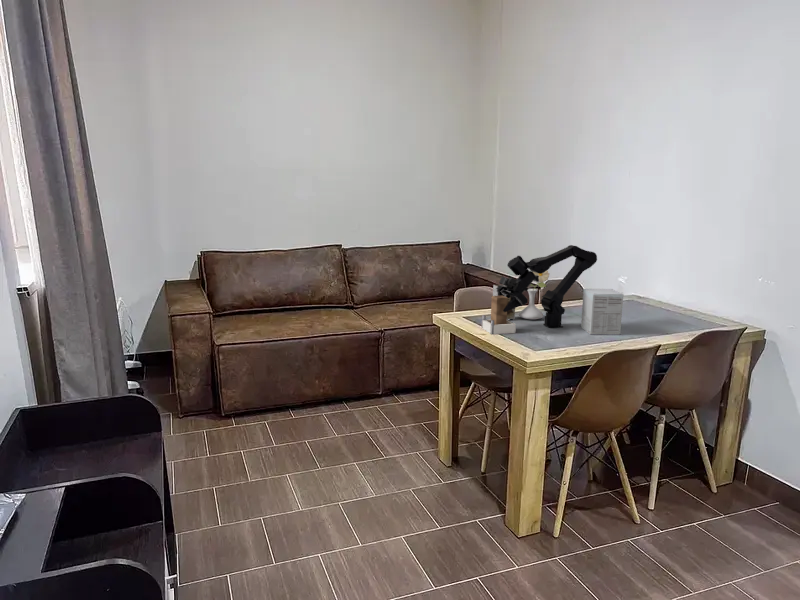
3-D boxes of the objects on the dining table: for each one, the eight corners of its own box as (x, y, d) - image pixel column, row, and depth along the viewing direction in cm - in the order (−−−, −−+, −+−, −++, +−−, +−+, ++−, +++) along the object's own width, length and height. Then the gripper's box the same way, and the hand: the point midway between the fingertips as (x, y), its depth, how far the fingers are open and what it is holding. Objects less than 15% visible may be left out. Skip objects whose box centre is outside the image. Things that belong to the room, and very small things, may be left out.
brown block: (500, 327, 262) (502, 295, 259) (506, 329, 257) (507, 297, 254) (490, 327, 260) (491, 296, 258) (495, 330, 256) (496, 298, 253)
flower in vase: (516, 320, 279) (519, 266, 274) (520, 315, 289) (522, 263, 284) (545, 322, 275) (548, 268, 270) (548, 317, 285) (551, 264, 280)
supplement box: (621, 335, 253) (624, 294, 250) (589, 334, 253) (592, 294, 250) (609, 327, 266) (612, 288, 263) (580, 327, 266) (582, 288, 263)
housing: (504, 326, 266) (505, 314, 264) (515, 333, 255) (516, 319, 254) (481, 328, 263) (481, 315, 262) (491, 334, 252) (491, 320, 251)
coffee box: (497, 321, 276) (498, 286, 273) (491, 318, 282) (492, 284, 279) (515, 320, 279) (516, 285, 276) (509, 317, 285) (510, 283, 282)
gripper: (501, 267, 264) (477, 293, 263) (522, 273, 247) (497, 301, 245) (516, 283, 268) (493, 309, 267) (538, 291, 251) (513, 318, 249)
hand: (498, 309), depth 257 cm, fingers open, 9 cm apart
